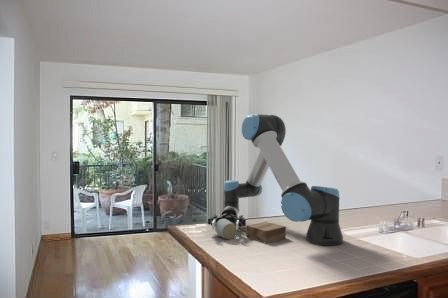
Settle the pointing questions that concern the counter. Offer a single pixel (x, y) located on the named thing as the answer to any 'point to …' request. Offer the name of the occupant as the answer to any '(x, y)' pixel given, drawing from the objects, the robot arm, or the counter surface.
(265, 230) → the walnut base block
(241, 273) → the counter surface
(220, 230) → the ceramic mug
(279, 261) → the counter surface
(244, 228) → the cork coaster
